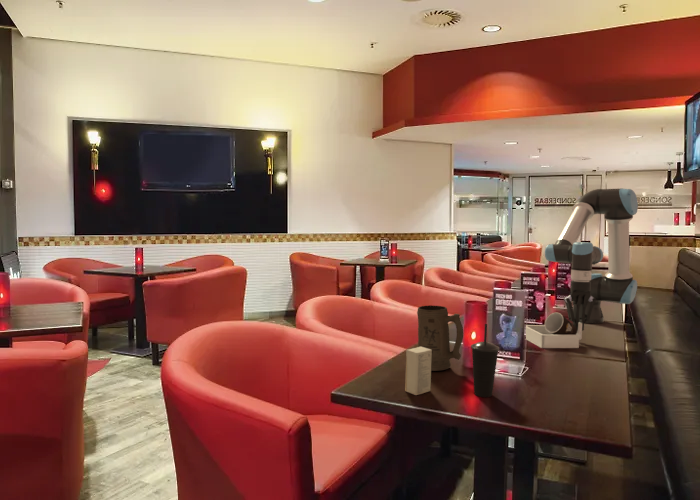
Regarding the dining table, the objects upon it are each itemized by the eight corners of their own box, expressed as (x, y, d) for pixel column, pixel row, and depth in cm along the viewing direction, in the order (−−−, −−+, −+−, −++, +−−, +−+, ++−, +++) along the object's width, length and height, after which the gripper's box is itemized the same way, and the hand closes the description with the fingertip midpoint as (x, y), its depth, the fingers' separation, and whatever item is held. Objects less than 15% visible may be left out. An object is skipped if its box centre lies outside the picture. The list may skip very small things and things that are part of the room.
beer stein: (411, 369, 167) (413, 308, 166) (419, 361, 177) (421, 303, 176) (460, 375, 162) (462, 312, 161) (464, 366, 172) (467, 307, 171)
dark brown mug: (569, 318, 211) (553, 308, 207) (583, 328, 203) (567, 318, 199) (552, 341, 213) (536, 331, 209) (565, 352, 205) (549, 342, 201)
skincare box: (419, 387, 150) (421, 346, 150) (431, 391, 147) (432, 349, 146) (404, 391, 146) (405, 349, 146) (415, 396, 143) (416, 352, 142)
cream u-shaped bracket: (556, 336, 218) (556, 325, 218) (578, 347, 200) (579, 335, 200) (521, 336, 217) (522, 325, 216) (541, 348, 199) (542, 335, 199)
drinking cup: (480, 400, 140) (483, 327, 139) (463, 391, 147) (466, 322, 146) (503, 397, 143) (506, 326, 142) (485, 388, 150) (488, 320, 149)
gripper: (570, 281, 204) (567, 340, 205) (601, 282, 205) (598, 340, 206) (560, 279, 211) (558, 336, 213) (591, 279, 212) (588, 336, 214)
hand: (577, 338), depth 210 cm, fingers closed
